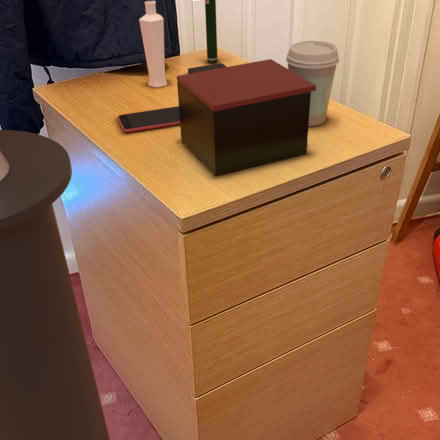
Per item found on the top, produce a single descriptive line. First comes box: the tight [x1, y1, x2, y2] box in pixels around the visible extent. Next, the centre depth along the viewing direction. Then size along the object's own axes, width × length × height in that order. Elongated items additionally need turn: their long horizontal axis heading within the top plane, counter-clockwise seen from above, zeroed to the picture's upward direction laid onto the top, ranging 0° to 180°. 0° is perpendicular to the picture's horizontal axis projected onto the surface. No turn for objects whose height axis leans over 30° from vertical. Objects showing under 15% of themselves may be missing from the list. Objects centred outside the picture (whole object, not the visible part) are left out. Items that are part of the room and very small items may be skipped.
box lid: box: [176, 58, 316, 112], centre depth 86 cm, size 16×14×1 cm
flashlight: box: [204, 0, 218, 64], centre depth 119 cm, size 5×5×20 cm
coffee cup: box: [285, 40, 340, 127], centre depth 97 cm, size 8×9×12 cm
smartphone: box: [117, 105, 180, 133], centre depth 102 cm, size 7×1×14 cm
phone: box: [187, 62, 228, 74], centre depth 115 cm, size 8×1×15 cm
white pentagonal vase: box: [138, 0, 168, 88], centre depth 111 cm, size 5×4×15 cm
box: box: [176, 81, 311, 177], centre depth 90 cm, size 16×14×10 cm
